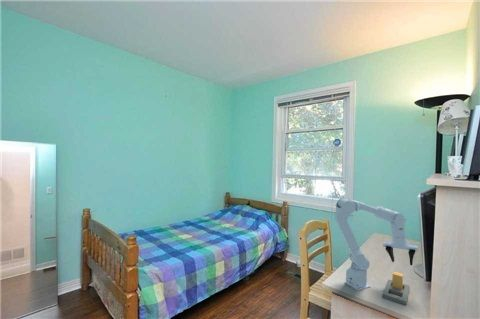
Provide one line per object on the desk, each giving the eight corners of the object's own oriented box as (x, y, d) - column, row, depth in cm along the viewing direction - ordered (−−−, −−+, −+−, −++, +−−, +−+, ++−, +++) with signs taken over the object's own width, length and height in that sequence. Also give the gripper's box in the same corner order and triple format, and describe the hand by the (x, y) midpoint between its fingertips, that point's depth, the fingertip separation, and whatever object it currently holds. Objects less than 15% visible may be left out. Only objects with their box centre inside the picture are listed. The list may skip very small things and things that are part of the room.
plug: (402, 292, 112) (402, 276, 112) (392, 289, 115) (392, 273, 115) (402, 288, 115) (403, 273, 115) (393, 285, 118) (393, 271, 118)
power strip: (406, 305, 102) (406, 301, 102) (382, 296, 107) (382, 293, 107) (409, 288, 115) (409, 285, 115) (388, 282, 121) (388, 279, 121)
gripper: (417, 235, 115) (421, 262, 114) (384, 231, 125) (387, 257, 124) (415, 239, 110) (419, 268, 109) (380, 235, 120) (384, 262, 119)
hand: (402, 262), depth 117 cm, fingers open, 7 cm apart
